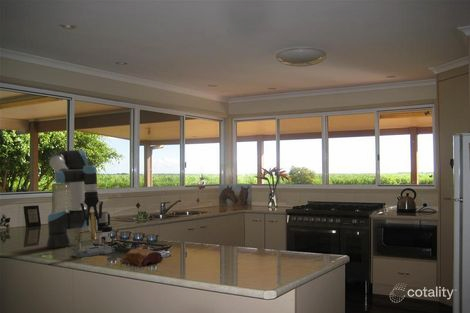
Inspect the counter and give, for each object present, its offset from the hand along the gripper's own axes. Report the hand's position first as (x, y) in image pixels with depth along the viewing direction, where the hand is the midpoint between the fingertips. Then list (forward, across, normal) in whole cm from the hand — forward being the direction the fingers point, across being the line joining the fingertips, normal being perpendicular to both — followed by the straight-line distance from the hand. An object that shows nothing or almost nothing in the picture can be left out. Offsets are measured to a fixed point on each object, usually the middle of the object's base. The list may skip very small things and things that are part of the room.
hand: (93, 230), depth 270 cm
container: (+14, +14, +22) cm, 30 cm away
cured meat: (+15, +15, -42) cm, 47 cm away
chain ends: (+14, 0, 0) cm, 14 cm away
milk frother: (+14, +32, +116) cm, 121 cm away
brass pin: (+5, 0, 0) cm, 5 cm away
